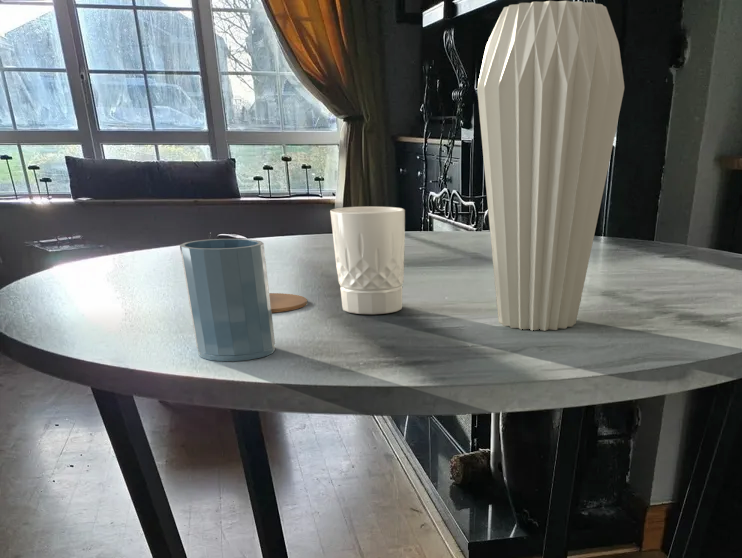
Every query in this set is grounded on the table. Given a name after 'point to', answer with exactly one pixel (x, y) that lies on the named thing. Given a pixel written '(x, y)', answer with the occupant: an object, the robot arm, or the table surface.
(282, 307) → the cork coaster
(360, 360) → the table surface
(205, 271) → the tumbler
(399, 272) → the white cup
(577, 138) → the vase
